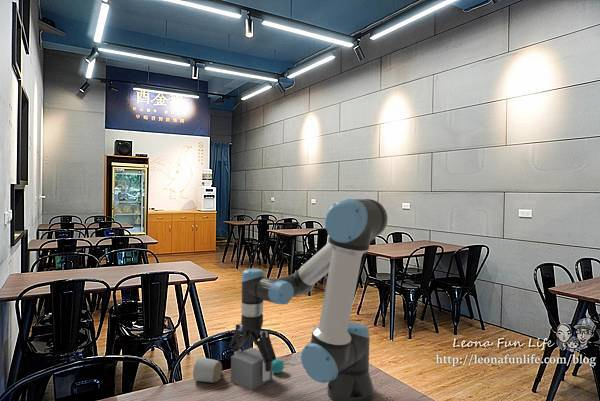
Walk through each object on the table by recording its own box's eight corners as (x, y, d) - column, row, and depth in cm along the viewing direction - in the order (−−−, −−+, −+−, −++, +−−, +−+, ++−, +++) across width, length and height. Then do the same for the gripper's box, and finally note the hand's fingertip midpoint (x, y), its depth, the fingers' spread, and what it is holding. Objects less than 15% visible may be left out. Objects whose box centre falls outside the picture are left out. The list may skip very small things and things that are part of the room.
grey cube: (272, 379, 140) (272, 354, 140) (252, 390, 132) (252, 364, 132) (251, 371, 146) (251, 347, 146) (230, 381, 138) (231, 356, 138)
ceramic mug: (214, 387, 134) (215, 364, 134) (192, 384, 136) (192, 362, 136) (226, 373, 145) (226, 352, 145) (205, 371, 146) (205, 350, 146)
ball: (286, 372, 146) (286, 358, 146) (277, 377, 142) (277, 363, 142) (276, 368, 149) (276, 355, 149) (267, 373, 145) (267, 359, 145)
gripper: (286, 318, 134) (285, 380, 135) (235, 304, 149) (234, 360, 150) (272, 324, 128) (271, 389, 129) (219, 309, 143) (219, 367, 144)
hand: (251, 374), depth 139 cm, fingers open, 13 cm apart
